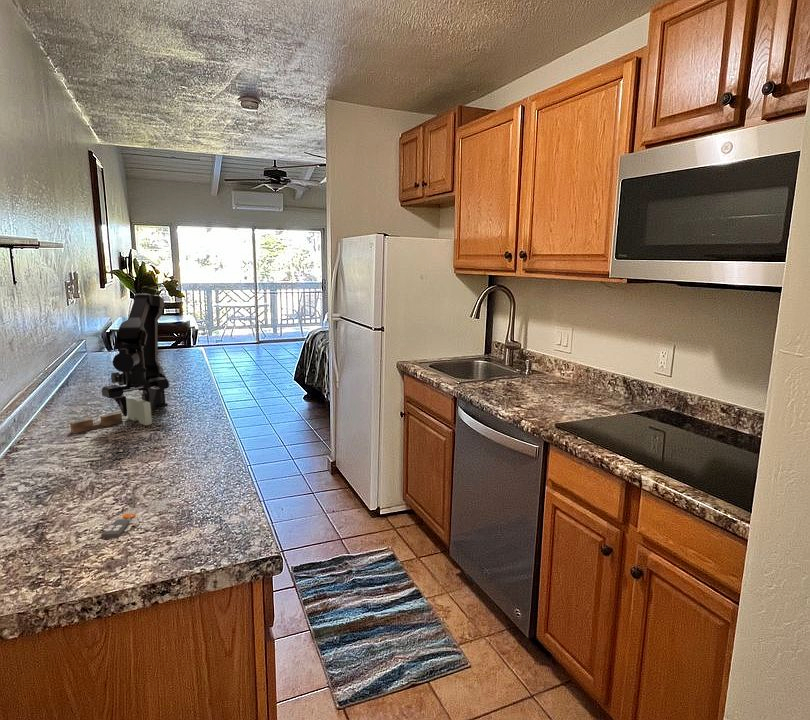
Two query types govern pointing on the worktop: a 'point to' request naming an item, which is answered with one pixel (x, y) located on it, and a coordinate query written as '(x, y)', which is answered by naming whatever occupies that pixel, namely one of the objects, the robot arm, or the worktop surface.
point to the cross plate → (139, 410)
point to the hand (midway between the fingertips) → (138, 413)
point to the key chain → (118, 526)
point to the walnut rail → (88, 423)
